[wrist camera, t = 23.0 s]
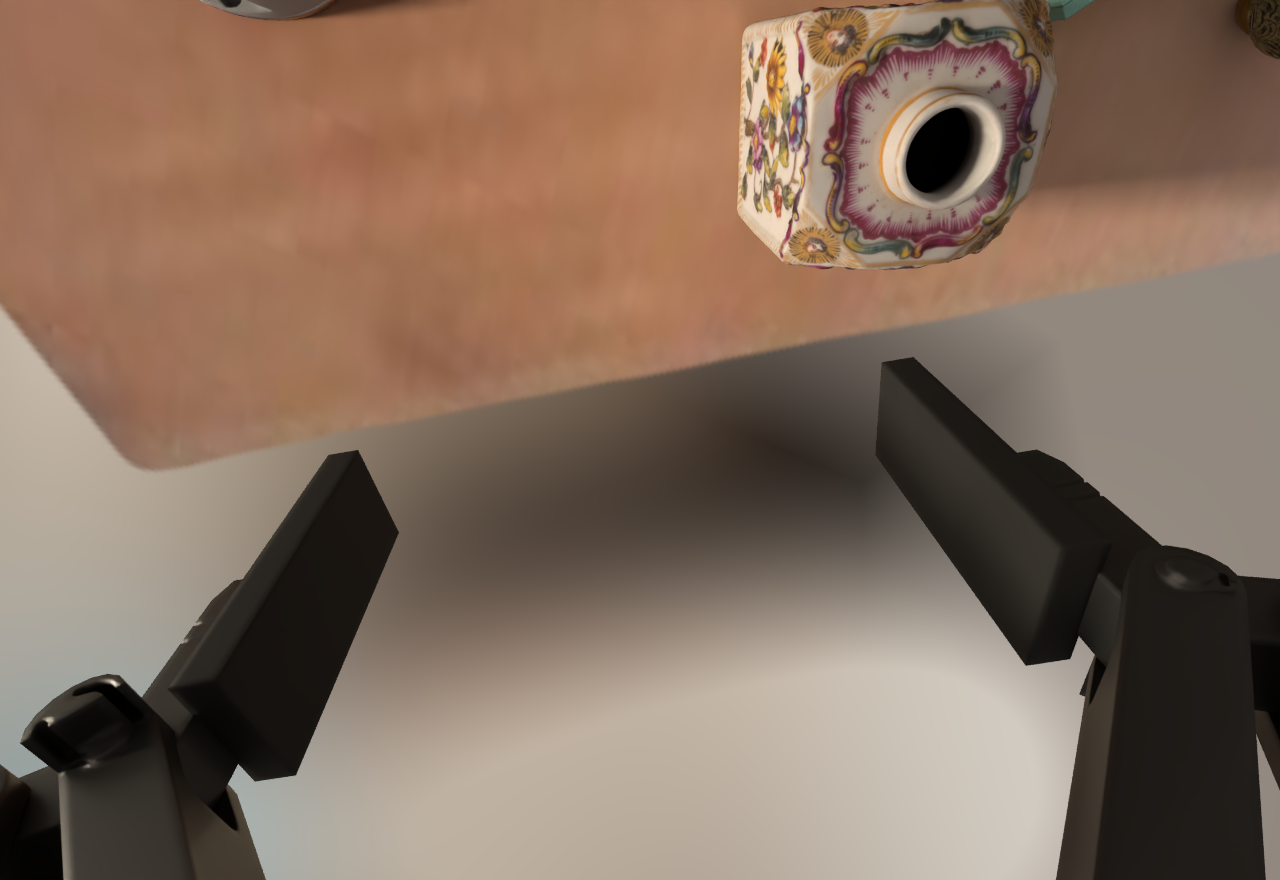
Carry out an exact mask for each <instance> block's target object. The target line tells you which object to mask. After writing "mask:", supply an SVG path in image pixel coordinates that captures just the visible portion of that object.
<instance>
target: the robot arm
mask: <svg viewBox="0 0 1280 880" xmlns="http://www.w3.org/2000/svg"><path fill="white" fill-rule="evenodd" d="M200 1H202V2H204V3H207V4H209V5H211V6H213V7H215V8H218V9H221V10H223V11H226V12H229V13H232V14H236V15H240V16H244V17H250V18H256V19H263V20H276V21H282V20H294V19H299V18H304V17H307V16H310V15H314V14H316V13H318V12H320V11H322V10H325V9H326V8H328V7H329V6H331V5H333V4H334V3H336V2H337V1H338V0H200ZM876 456H877V458H878V459H879V461H880V462H881V463H882V465H883V466H884V468H885V469H886V470H887V472H888V473H889V475H890V476H891V478H892V479H893V480H894V482H895V483H896V485H897V486H898V487H899V489H900V490H901V492H902V493H903V494H904V496H905V497H906V498H907V500H908V501H909V503H910V504H911V505H912V507H913V508H914V510H915V511H916V512H917V514H918V515H919V517H920V518H921V520H922V521H923V522H924V524H925V525H926V527H927V528H928V529H929V531H930V532H931V534H932V535H933V536H934V538H935V539H936V540H937V542H938V543H939V545H940V546H941V547H942V549H943V550H944V552H945V553H946V554H947V556H948V557H949V559H950V560H951V562H952V563H953V564H954V566H955V567H956V568H957V570H958V571H959V573H960V574H961V576H962V577H963V578H964V580H965V581H966V583H967V584H968V585H969V587H970V588H971V590H972V591H973V592H974V593H975V595H976V597H977V598H978V599H979V601H980V602H981V604H982V605H983V606H984V608H985V609H986V611H987V612H988V613H989V615H990V616H991V617H992V619H993V620H994V622H995V623H996V624H997V626H998V627H999V629H1000V630H1001V632H1002V633H1003V634H1004V636H1005V637H1006V639H1007V640H1008V641H1009V643H1010V644H1011V646H1012V647H1013V648H1014V650H1015V651H1016V652H1017V654H1018V655H1019V657H1020V658H1021V660H1022V661H1023V662H1024V664H1025V665H1026V666H1027V665H1034V664H1041V663H1047V662H1054V661H1060V660H1067V659H1070V658H1071V656H1072V653H1073V650H1074V647H1075V645H1076V642H1077V639H1078V636H1080V638H1081V639H1082V640H1083V641H1084V642H1085V644H1086V645H1087V646H1088V647H1089V648H1090V649H1091V651H1092V652H1093V653H1094V654H1095V656H1094V658H1093V661H1092V664H1091V666H1090V668H1089V671H1088V674H1087V676H1086V679H1085V681H1084V684H1083V686H1082V689H1081V692H1080V695H1082V696H1085V702H1084V708H1083V715H1082V722H1081V727H1080V733H1079V740H1078V746H1077V752H1076V758H1075V765H1074V771H1073V777H1072V783H1071V790H1070V796H1069V802H1068V809H1067V815H1066V821H1065V827H1064V833H1063V839H1062V846H1061V852H1060V858H1059V865H1058V871H1057V877H1056V880H1266V877H1265V862H1264V846H1263V831H1262V816H1261V801H1260V786H1259V770H1258V755H1257V740H1256V734H1257V736H1258V739H1259V742H1260V744H1261V746H1262V749H1263V751H1264V753H1265V756H1266V758H1267V761H1268V763H1269V765H1270V768H1271V770H1272V773H1273V775H1274V777H1275V780H1276V782H1277V784H1278V787H1279V789H1280V579H1271V578H1259V577H1246V576H1237V575H1236V574H1235V573H1234V572H1233V571H1232V570H1231V569H1230V568H1229V567H1228V566H1226V565H1224V564H1223V563H1221V562H1219V561H1217V560H1215V559H1214V558H1212V557H1210V556H1208V555H1205V554H1202V553H1199V552H1196V551H1193V550H1190V549H1187V548H1179V547H1173V546H1162V545H1160V544H1159V543H1158V542H1157V541H1156V540H1155V539H1154V538H1152V537H1151V536H1150V535H1149V534H1148V533H1147V532H1145V531H1144V530H1143V529H1142V528H1141V527H1140V526H1138V525H1137V524H1136V523H1135V522H1133V521H1132V520H1131V519H1130V518H1129V517H1128V516H1127V515H1125V514H1124V513H1123V512H1122V511H1121V510H1120V509H1118V508H1117V507H1116V506H1115V505H1114V504H1112V503H1111V502H1110V501H1109V500H1108V499H1107V498H1105V497H1104V496H1100V493H1099V492H1098V491H1097V490H1096V489H1095V488H1094V487H1092V486H1091V485H1090V484H1089V483H1088V482H1086V483H1085V482H1084V479H1083V478H1082V477H1081V476H1080V475H1078V474H1077V473H1076V472H1075V471H1074V470H1072V469H1071V468H1070V467H1069V466H1068V465H1067V464H1065V463H1064V462H1062V461H1060V460H1058V459H1056V458H1054V457H1052V456H1049V455H1047V454H1045V453H1043V452H1041V451H1039V450H1032V451H1025V452H1019V453H1017V452H1015V451H1014V450H1013V449H1012V448H1011V447H1010V446H1009V445H1008V444H1007V443H1006V442H1005V441H1003V440H1002V439H1001V438H1000V437H999V436H998V435H997V434H996V433H995V432H994V431H993V430H992V429H990V428H989V427H988V426H987V425H986V424H985V423H984V422H983V421H982V420H981V419H980V418H979V417H977V416H976V415H975V414H974V413H973V412H972V411H971V410H970V409H969V408H968V407H967V406H965V404H963V403H962V402H961V401H960V400H959V399H958V398H957V397H956V396H955V395H954V394H953V393H951V392H950V391H949V390H948V389H947V388H946V387H945V386H944V385H943V384H942V383H941V382H940V381H938V380H937V379H936V378H935V377H934V376H933V375H932V374H931V373H930V372H929V371H928V370H927V369H925V368H924V367H923V366H922V365H921V364H920V363H919V362H918V361H917V360H916V359H915V358H914V357H912V358H905V359H899V360H894V361H887V362H882V368H881V382H880V396H879V411H878V426H877V440H876ZM398 533H399V532H398V530H397V528H396V526H395V524H394V522H393V520H392V518H391V516H390V514H389V512H388V510H387V508H386V506H385V504H384V502H383V500H382V497H381V495H380V494H379V492H378V490H377V487H376V486H375V483H374V481H373V480H372V477H371V475H370V473H369V471H368V469H367V467H366V465H365V463H364V461H363V459H362V457H361V455H360V454H359V451H358V450H356V451H350V452H344V453H338V454H332V455H328V456H327V458H326V459H325V461H324V462H323V464H322V465H321V467H320V468H319V469H318V471H317V472H316V474H315V475H314V477H313V478H312V480H311V481H310V482H309V484H308V485H307V487H306V488H305V490H304V491H303V493H302V494H301V496H300V497H299V498H298V500H297V501H296V503H295V504H294V506H293V507H292V509H291V510H290V512H289V513H288V515H287V516H286V518H285V519H284V520H283V522H282V523H281V525H280V526H279V528H278V529H277V531H276V532H275V533H274V535H273V536H272V538H271V539H270V541H269V542H268V543H267V545H266V546H265V548H264V549H263V551H262V552H261V554H260V555H259V556H258V558H257V559H256V561H255V563H254V564H253V565H252V567H251V568H250V570H249V571H248V573H247V574H246V575H245V577H244V578H243V579H242V580H236V581H233V582H232V583H231V584H230V585H229V586H228V587H227V588H225V589H224V590H223V591H222V592H221V593H220V594H219V595H218V596H216V597H215V598H214V599H213V600H212V601H211V602H210V604H209V605H208V606H207V608H206V609H205V611H204V612H203V613H202V615H201V616H200V617H199V619H198V620H197V622H196V623H197V625H196V626H193V627H192V629H191V630H190V631H189V633H188V634H187V636H186V637H185V638H184V643H183V644H180V645H179V647H178V648H177V649H176V651H175V652H174V654H173V655H172V656H171V658H170V659H169V661H168V662H167V663H166V665H165V666H164V667H163V669H162V670H161V672H160V673H159V674H158V676H157V677H156V679H155V680H154V681H153V683H152V684H151V686H150V687H149V688H148V690H147V691H146V693H145V694H144V695H143V697H142V698H141V697H140V696H139V695H138V694H137V693H136V692H135V691H134V690H133V689H132V688H131V687H130V686H129V685H128V684H127V683H126V682H125V681H124V680H123V679H122V678H121V677H120V676H119V675H111V674H106V675H101V676H98V677H93V678H90V679H88V680H86V681H84V682H82V683H80V684H77V685H75V686H73V687H71V688H70V689H68V690H67V691H65V692H64V693H62V694H61V695H59V696H58V697H56V698H55V699H53V700H52V701H51V702H50V703H49V704H48V705H46V706H45V707H44V708H43V709H42V710H41V711H40V712H39V713H38V714H36V716H35V717H34V718H33V720H32V721H31V722H30V724H29V725H28V726H27V728H26V729H25V730H24V734H23V737H22V739H21V742H20V743H21V744H22V745H23V746H24V747H25V748H27V749H28V750H29V751H31V752H32V753H33V754H35V755H36V756H37V757H38V758H39V759H41V760H42V761H43V762H44V763H46V764H47V765H48V766H47V767H45V768H42V769H40V770H38V771H35V772H33V773H30V774H28V775H25V776H23V777H21V778H18V777H16V776H15V775H13V774H12V773H11V772H9V771H8V770H7V769H5V768H4V767H3V766H2V765H0V880H266V879H265V876H264V873H263V870H262V867H261V864H260V861H259V858H258V855H257V852H256V849H255V846H254V844H253V840H252V837H251V835H250V831H249V828H248V825H247V822H246V819H245V817H244V814H243V811H242V808H241V805H240V802H239V799H238V796H237V794H236V793H235V792H234V791H233V789H232V788H231V787H230V786H229V785H228V782H229V780H230V779H231V777H232V775H233V773H234V771H235V769H236V767H237V765H238V764H239V765H240V766H241V767H242V768H243V769H244V770H245V771H246V773H247V774H248V775H249V776H250V777H251V778H252V779H253V780H254V781H261V780H268V779H274V778H282V777H288V776H294V775H296V774H297V771H298V769H299V767H300V764H301V762H302V759H303V757H304V755H305V753H306V750H307V748H308V746H309V743H310V741H311V738H312V736H313V734H314V731H315V729H316V727H317V724H318V722H319V719H320V717H321V715H322V713H323V710H324V708H325V705H326V703H327V701H328V698H329V696H330V694H331V691H332V689H333V687H334V684H335V682H336V680H337V677H338V675H339V672H340V670H341V668H342V665H343V663H344V661H345V658H346V656H347V653H348V651H349V649H350V646H351V644H352V642H353V639H354V637H355V635H356V632H357V630H358V628H359V625H360V623H361V620H362V618H363V616H364V614H365V611H366V609H367V606H368V604H369V602H370V599H371V597H372V594H373V592H374V590H375V588H376V585H377V583H378V580H379V578H380V576H381V573H382V571H383V569H384V566H385V564H386V562H387V559H388V557H389V555H390V552H391V550H392V548H393V545H394V543H395V540H396V538H397V535H398Z"/></svg>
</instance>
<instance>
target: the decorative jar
mask: <svg viewBox="0 0 1280 880" xmlns="http://www.w3.org/2000/svg"><path fill="white" fill-rule="evenodd" d="M1049 11H1050V5H1049V3H1048V2H1047V0H934V1H930V2H927V3H924V4H917V5H915V4H914V3H908V4H905V5H902V6H900V5H896V4H889V5H886V4H884V5H883V6H881V7H877V6H869V7H864V6H851V7H847V8H824V7H819V8H816V9H814V10H812V11H807V12H803V13H800V14H795V15H789V16H784V17H780V18H776V19H770V20H766V21H761V22H757V23H754V24H751V25H749V26H748V27H747V28H746V29H745V31H744V34H743V38H742V68H741V70H742V72H741V104H740V107H741V110H740V130H739V182H738V205H737V211H738V214H739V216H740V217H741V218H742V219H743V220H744V222H745V223H746V224H747V226H749V228H750V229H751V230H752V231H753V232H754V233H755V234H756V235H757V236H758V237H759V239H761V240H762V242H764V244H766V245H767V246H768V248H770V249H771V250H772V251H773V252H774V253H775V254H776V255H777V256H778V257H779V258H780V260H781V261H783V262H784V263H786V264H787V265H801V266H805V267H813V268H819V269H829V268H832V267H834V266H840V267H844V268H847V269H857V268H858V269H883V270H894V269H909V268H920V267H923V266H926V265H931V264H939V263H945V262H950V261H952V260H956V259H960V258H962V257H964V256H966V255H968V254H970V253H972V254H976V253H979V252H980V251H981V250H983V249H984V248H985V247H987V246H988V245H989V243H990V242H991V241H992V240H993V239H994V238H995V237H997V236H999V235H1000V234H1001V232H1002V230H1003V228H1004V226H1005V224H1007V223H1008V222H1009V220H1010V217H1011V215H1012V214H1013V212H1014V211H1015V209H1016V208H1017V207H1018V206H1019V205H1020V204H1021V202H1022V201H1023V200H1024V199H1025V198H1026V197H1027V196H1028V194H1029V192H1030V190H1031V189H1032V186H1033V183H1034V180H1035V176H1036V173H1037V169H1038V166H1039V163H1040V159H1041V156H1042V153H1043V150H1044V147H1045V143H1046V140H1047V137H1048V135H1049V133H1050V128H1051V123H1052V116H1053V110H1054V103H1055V99H1056V95H1057V90H1058V84H1057V75H1056V67H1055V61H1054V55H1053V43H1054V39H1053V31H1052V25H1051V22H1050V18H1049Z"/></svg>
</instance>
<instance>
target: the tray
mask: <svg viewBox="0 0 1280 880" xmlns="http://www.w3.org/2000/svg"><path fill="white" fill-rule="evenodd" d="M1093 1H1094V0H1047V2H1048V3H1049V5H1050V11H1049V18H1050V21H1057V20H1066V19H1067V18H1069V17H1070V16H1072V15H1073V14H1075V13H1076V12H1078V11H1079V10H1081V9H1082V8H1084V7H1085V6H1087V5H1088V4H1090V3H1091V2H1093Z"/></svg>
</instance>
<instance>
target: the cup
mask: <svg viewBox="0 0 1280 880" xmlns="http://www.w3.org/2000/svg"><path fill="white" fill-rule="evenodd" d="M1236 22H1237V25H1238V27H1239V28H1240V29H1241V30H1242V31H1243V32H1245V33H1246V34H1248V35H1250V38H1251V40H1252V42H1253V43H1254V45H1255V46H1256V47H1257V48H1258V49H1259V50H1260V51H1261V52H1263V53H1264V54H1266V55H1268V56H1271V57H1273V58H1276V59H1279V60H1280V0H1240V1H1239V3H1238V6H1237V10H1236Z"/></svg>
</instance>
